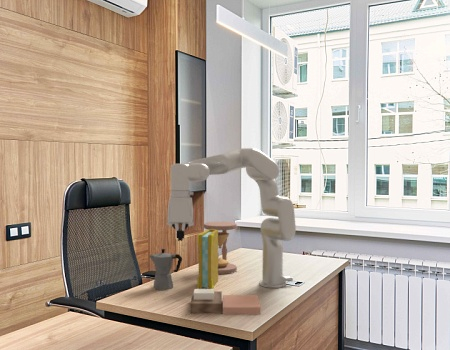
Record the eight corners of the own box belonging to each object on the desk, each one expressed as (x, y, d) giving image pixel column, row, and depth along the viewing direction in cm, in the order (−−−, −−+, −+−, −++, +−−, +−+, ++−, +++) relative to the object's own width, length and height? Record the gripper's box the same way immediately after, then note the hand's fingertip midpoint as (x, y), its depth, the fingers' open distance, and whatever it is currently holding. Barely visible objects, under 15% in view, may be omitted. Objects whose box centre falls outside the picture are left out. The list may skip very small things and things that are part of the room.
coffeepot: (146, 290, 211) (146, 250, 211) (151, 284, 221) (151, 246, 220) (180, 290, 210) (180, 251, 209) (183, 285, 219) (183, 247, 219)
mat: (257, 300, 195) (257, 295, 195) (260, 313, 179) (260, 307, 179) (222, 300, 195) (222, 295, 195) (222, 313, 179) (222, 307, 179)
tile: (214, 295, 190) (214, 288, 190) (213, 299, 184) (213, 293, 184) (194, 295, 190) (194, 288, 190) (193, 299, 184) (193, 293, 184)
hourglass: (225, 276, 236) (225, 227, 235) (197, 271, 246) (197, 224, 245) (242, 269, 251) (242, 222, 250) (215, 265, 260) (215, 220, 259)
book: (212, 290, 211) (212, 235, 210) (197, 289, 213) (197, 234, 212) (219, 280, 228) (219, 229, 227) (206, 279, 229) (206, 229, 228)
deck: (221, 300, 195) (221, 291, 195) (221, 313, 179) (221, 303, 179) (193, 300, 195) (193, 291, 195) (190, 313, 179) (190, 303, 179)
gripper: (199, 193, 189) (199, 238, 190) (162, 193, 189) (162, 238, 190) (198, 195, 182) (198, 242, 183) (160, 195, 182) (160, 242, 183)
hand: (180, 240), depth 186 cm, fingers closed
